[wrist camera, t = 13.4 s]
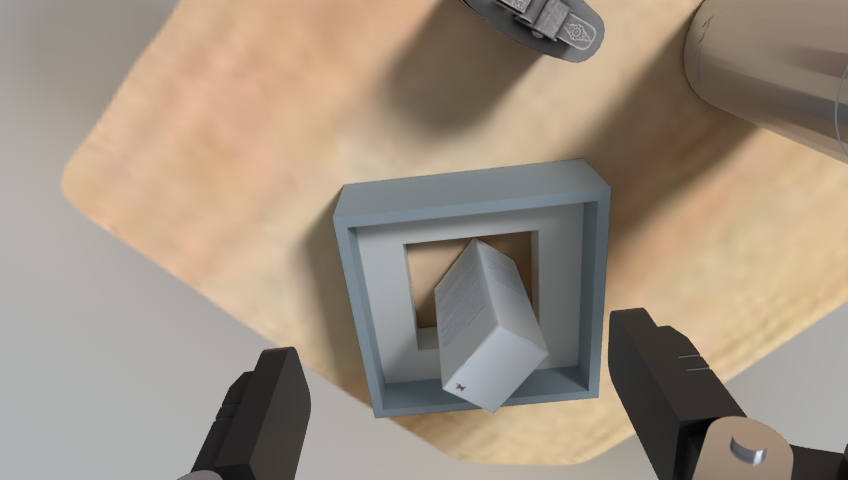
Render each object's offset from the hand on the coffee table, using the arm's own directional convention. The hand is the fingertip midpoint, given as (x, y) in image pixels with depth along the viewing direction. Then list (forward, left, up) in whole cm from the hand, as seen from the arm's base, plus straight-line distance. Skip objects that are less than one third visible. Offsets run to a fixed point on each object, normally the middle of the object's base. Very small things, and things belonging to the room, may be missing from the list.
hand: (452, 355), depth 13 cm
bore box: (-2, +14, -26) cm, 29 cm away
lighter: (-6, -6, -26) cm, 28 cm away
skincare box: (-2, +14, -26) cm, 30 cm away
